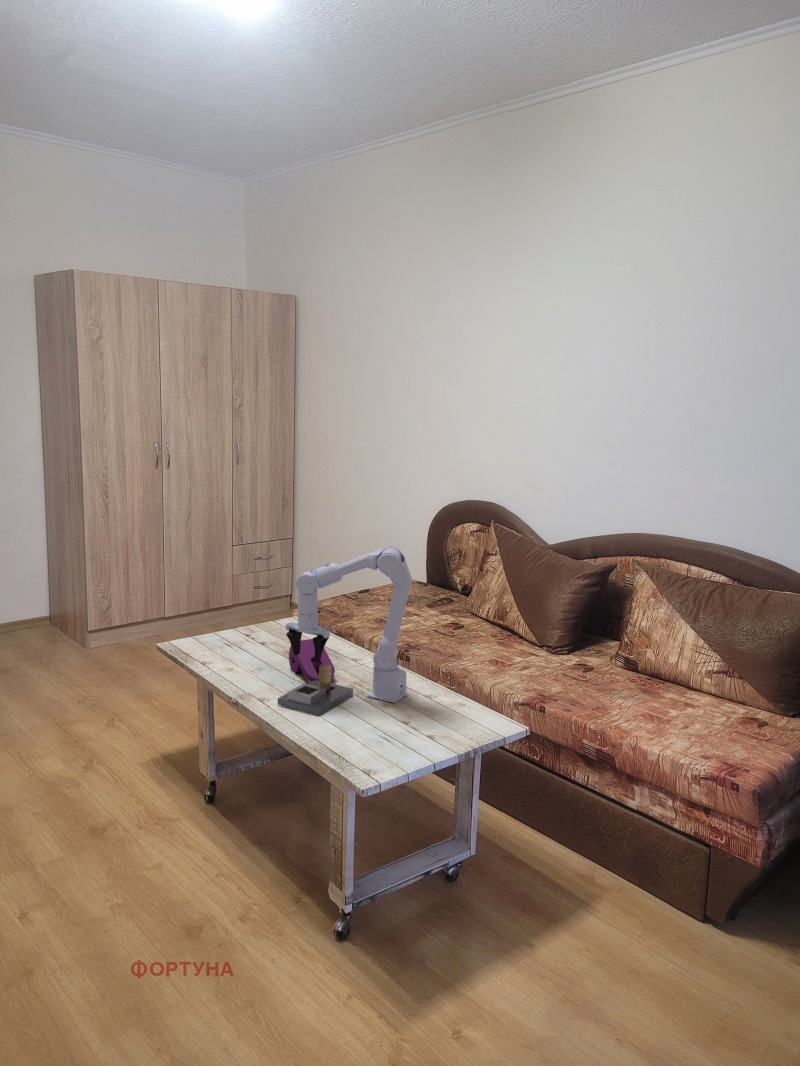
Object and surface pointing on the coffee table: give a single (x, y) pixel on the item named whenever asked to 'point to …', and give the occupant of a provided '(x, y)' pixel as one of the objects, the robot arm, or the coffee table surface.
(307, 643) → the mounting bracket
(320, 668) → the pin
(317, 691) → the mount plate
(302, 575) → the robot arm
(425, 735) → the coffee table surface
